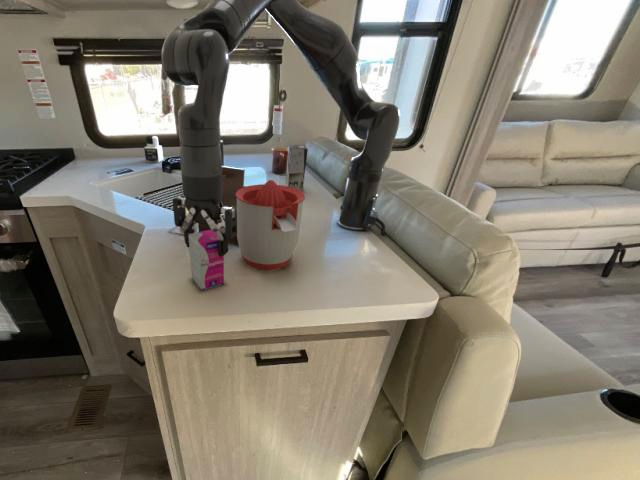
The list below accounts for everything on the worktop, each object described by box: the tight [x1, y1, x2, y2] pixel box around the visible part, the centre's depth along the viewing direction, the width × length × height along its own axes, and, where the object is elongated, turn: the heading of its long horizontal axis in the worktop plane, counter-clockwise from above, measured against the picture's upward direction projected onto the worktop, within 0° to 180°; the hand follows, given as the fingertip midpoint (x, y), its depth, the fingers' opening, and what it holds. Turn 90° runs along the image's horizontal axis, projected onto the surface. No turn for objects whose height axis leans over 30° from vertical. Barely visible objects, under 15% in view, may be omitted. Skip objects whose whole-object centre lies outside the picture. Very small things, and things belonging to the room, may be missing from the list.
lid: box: [221, 165, 246, 208], centre depth 83 cm, size 12×14×5 cm
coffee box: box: [284, 144, 309, 192], centre depth 129 cm, size 9×6×16 cm
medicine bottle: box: [143, 135, 164, 164], centre depth 169 cm, size 7×7×12 cm
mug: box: [271, 146, 289, 174], centre depth 152 cm, size 12×9×10 cm
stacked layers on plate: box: [169, 207, 199, 235], centre depth 97 cm, size 10×9×6 cm
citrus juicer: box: [236, 179, 306, 271], centre depth 76 cm, size 16×17×20 cm
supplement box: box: [188, 230, 225, 292], centre depth 70 cm, size 6×6×12 cm
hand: (206, 250), depth 69 cm, fingers closed on supplement box, 7 cm apart
